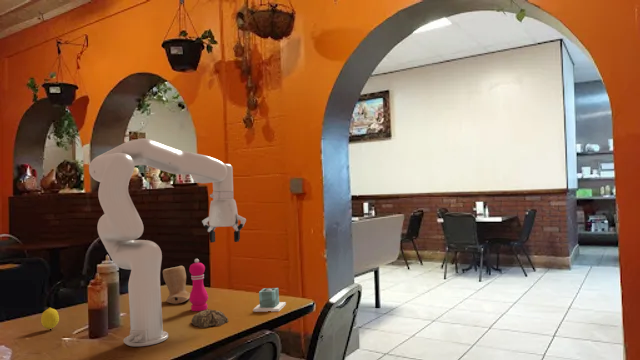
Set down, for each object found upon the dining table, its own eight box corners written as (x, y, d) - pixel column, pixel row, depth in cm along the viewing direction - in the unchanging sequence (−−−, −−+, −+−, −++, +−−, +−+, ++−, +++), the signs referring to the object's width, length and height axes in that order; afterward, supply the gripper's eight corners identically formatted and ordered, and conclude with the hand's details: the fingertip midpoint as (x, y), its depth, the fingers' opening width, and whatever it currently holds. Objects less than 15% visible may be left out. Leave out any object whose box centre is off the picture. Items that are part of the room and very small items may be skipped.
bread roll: (189, 322, 169) (188, 308, 169) (223, 316, 174) (222, 302, 175) (197, 331, 157) (196, 316, 158) (233, 324, 163) (232, 309, 163)
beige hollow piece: (168, 298, 211) (166, 264, 212) (195, 296, 212) (193, 262, 213) (158, 306, 196) (157, 270, 197) (187, 304, 197) (185, 268, 197)
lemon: (39, 333, 166) (38, 310, 166) (44, 329, 171) (43, 306, 171) (57, 331, 167) (56, 308, 167) (61, 326, 172) (60, 305, 173)
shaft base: (279, 311, 175) (277, 292, 176) (253, 311, 177) (252, 293, 177) (285, 304, 185) (284, 286, 185) (261, 305, 187) (260, 287, 187)
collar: (275, 307, 178) (274, 291, 178) (259, 307, 179) (258, 291, 179) (279, 303, 184) (278, 288, 184) (264, 303, 185) (263, 288, 185)
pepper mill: (211, 306, 190) (208, 256, 190) (205, 311, 183) (202, 259, 183) (193, 307, 190) (191, 257, 191) (187, 312, 183) (184, 260, 184)
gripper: (197, 197, 176) (198, 243, 176) (241, 195, 173) (242, 242, 172) (206, 197, 184) (207, 241, 183) (248, 195, 180) (249, 240, 179)
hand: (224, 242), depth 177 cm, fingers open, 9 cm apart
